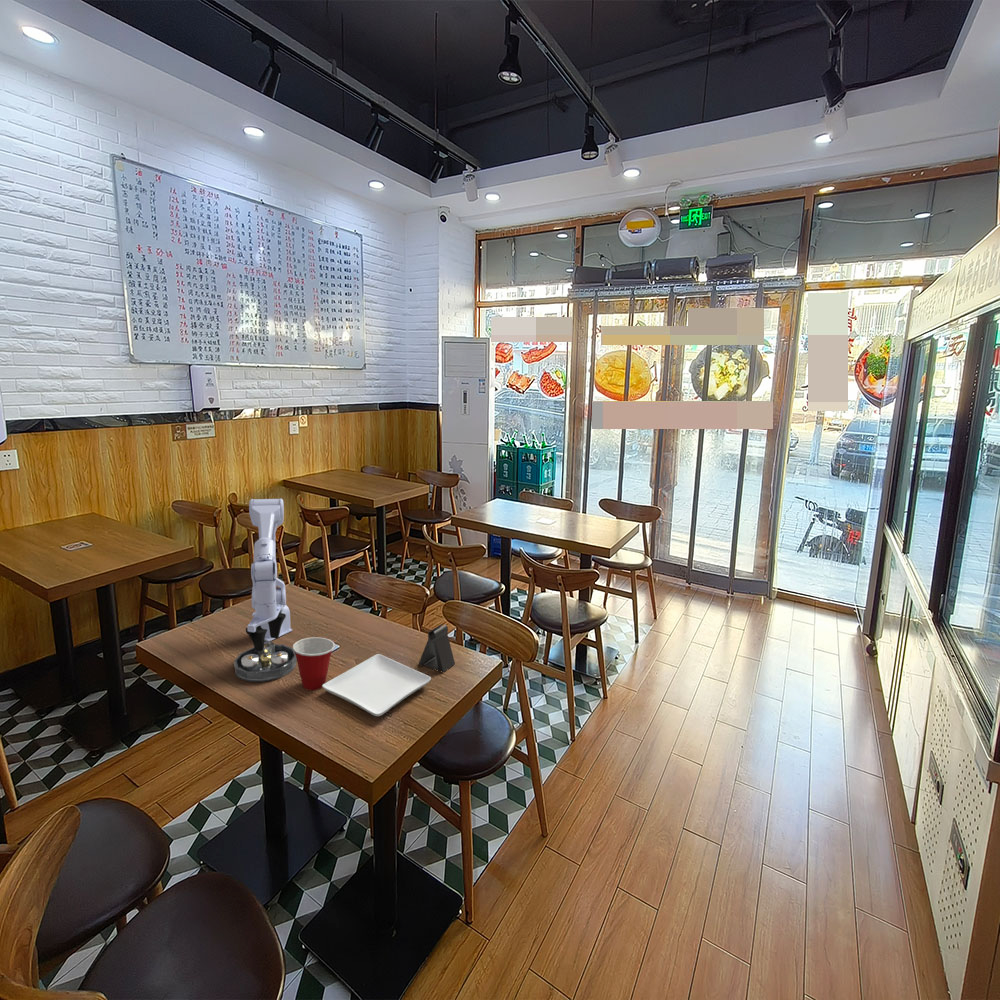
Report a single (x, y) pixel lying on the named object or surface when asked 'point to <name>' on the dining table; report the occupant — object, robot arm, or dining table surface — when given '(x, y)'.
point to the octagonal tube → (267, 649)
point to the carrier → (265, 664)
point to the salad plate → (377, 684)
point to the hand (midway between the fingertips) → (267, 643)
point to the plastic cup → (313, 660)
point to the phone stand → (438, 650)
